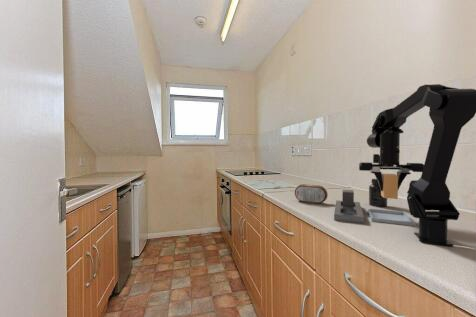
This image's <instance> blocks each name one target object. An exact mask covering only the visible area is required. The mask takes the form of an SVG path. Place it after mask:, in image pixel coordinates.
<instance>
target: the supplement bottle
mask: <svg viewBox="0 0 476 317" xmlns="http://www.w3.org/2000/svg"><path fill="white" fill-rule="evenodd" d="M368 205H369V206H372V207H376V208H387V207H388V198H383V197H382V195H381V189H380V186H379V183H378V181H377V178H371V184H370V185H369V186H368Z"/></svg>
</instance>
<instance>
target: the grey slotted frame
mask: <svg viewBox="0 0 476 317" xmlns="http://www.w3.org/2000/svg"><path fill="white" fill-rule="evenodd" d="M342 203H343V200H339V199H338V200H336V201H335V207H334V214H333V220H334V221H335V222H336V221H337V222H347V223H355V224H365V216H364V212H363V209H362V206H361V202H360V201H354V207H352V206H342Z"/></svg>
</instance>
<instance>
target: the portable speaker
mask: <svg viewBox="0 0 476 317" xmlns="http://www.w3.org/2000/svg"><path fill="white" fill-rule="evenodd" d="M294 196H295V198H296V199H297V201H299V202H303V203H311V204H319V205H320V204H322V203H324V202H325V201H326V200H327V199H328V191H327V188H325V187H324V186H322V185H318V184H317V185H315V184H308V183H307V184H306V183H305V184H304V183H303V184H299V185H297V187H295V189H294Z"/></svg>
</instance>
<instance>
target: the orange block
mask: <svg viewBox="0 0 476 317" xmlns="http://www.w3.org/2000/svg"><path fill="white" fill-rule="evenodd" d="M382 183H383V191H381V195H382V197H383V198H387V199H390V200H391V199H392V200H393V199H394V200H398V199H399V196H398V195H399V190H398V175H397V173H382Z"/></svg>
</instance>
